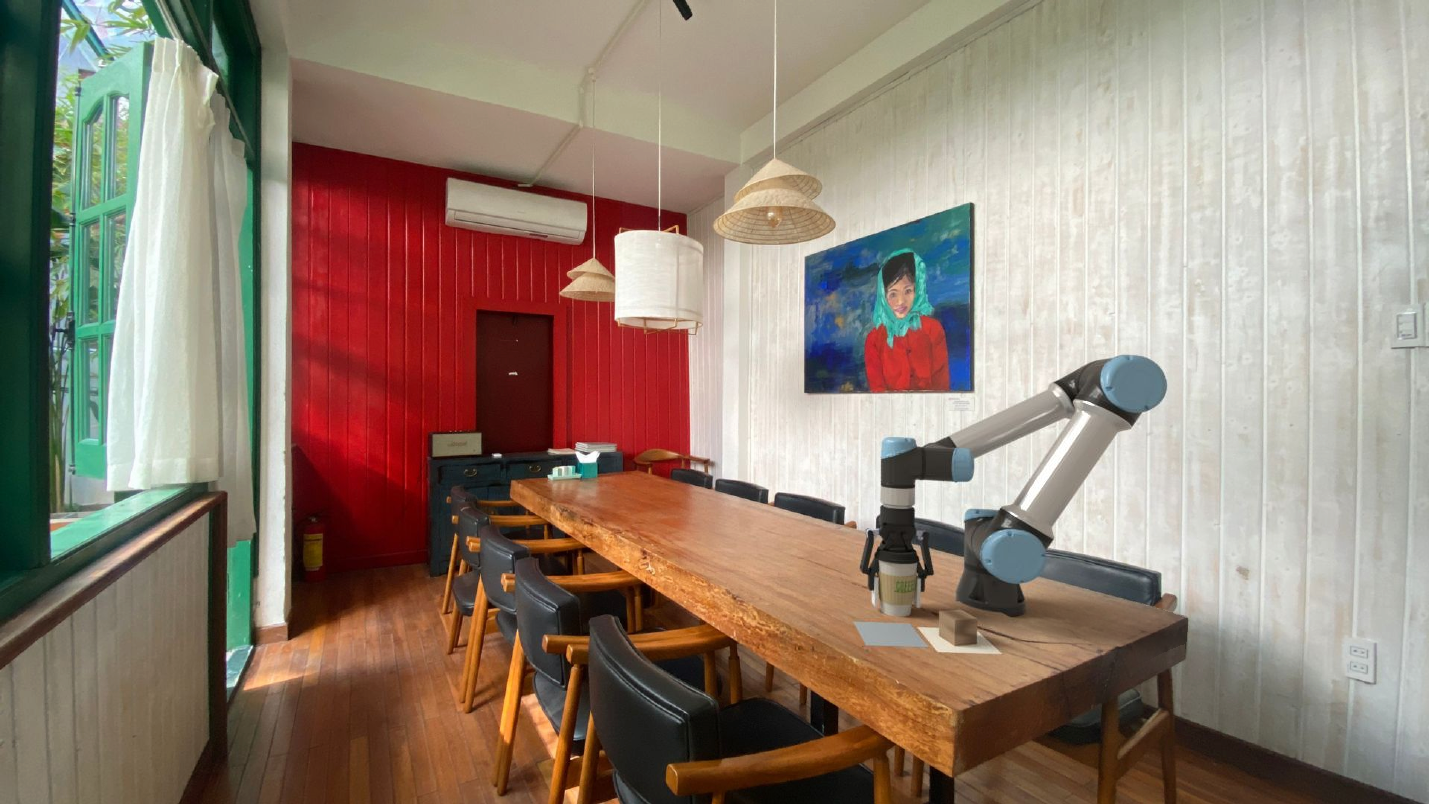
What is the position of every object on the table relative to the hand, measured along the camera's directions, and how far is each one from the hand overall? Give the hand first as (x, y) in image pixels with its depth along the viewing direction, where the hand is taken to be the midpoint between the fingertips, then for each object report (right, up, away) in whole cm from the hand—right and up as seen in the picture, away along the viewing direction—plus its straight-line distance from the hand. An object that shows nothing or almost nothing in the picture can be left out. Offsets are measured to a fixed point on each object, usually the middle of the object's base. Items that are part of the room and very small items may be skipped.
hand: (895, 605), depth 129 cm
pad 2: (+7, -2, -15) cm, 17 cm away
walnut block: (+7, -1, -15) cm, 17 cm away
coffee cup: (0, -3, 0) cm, 3 cm away
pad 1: (-6, -2, -13) cm, 14 cm away
